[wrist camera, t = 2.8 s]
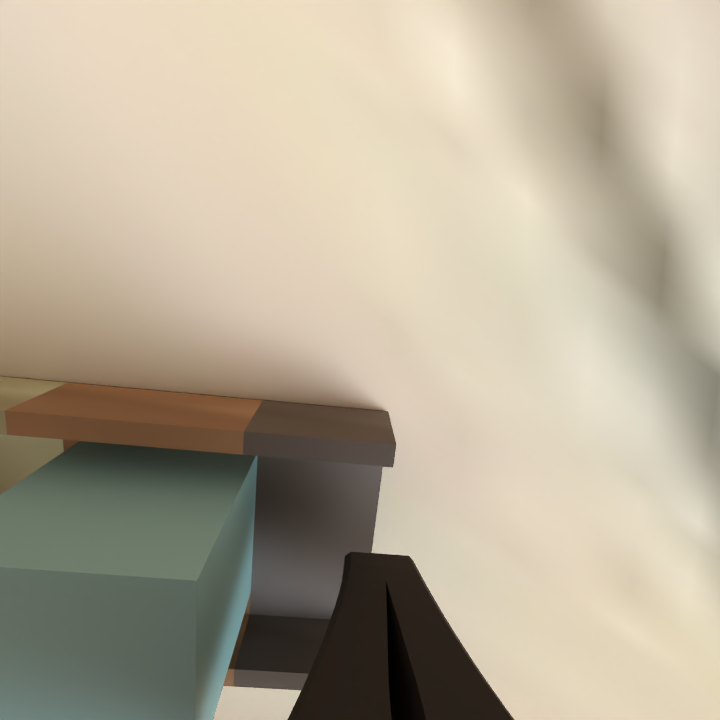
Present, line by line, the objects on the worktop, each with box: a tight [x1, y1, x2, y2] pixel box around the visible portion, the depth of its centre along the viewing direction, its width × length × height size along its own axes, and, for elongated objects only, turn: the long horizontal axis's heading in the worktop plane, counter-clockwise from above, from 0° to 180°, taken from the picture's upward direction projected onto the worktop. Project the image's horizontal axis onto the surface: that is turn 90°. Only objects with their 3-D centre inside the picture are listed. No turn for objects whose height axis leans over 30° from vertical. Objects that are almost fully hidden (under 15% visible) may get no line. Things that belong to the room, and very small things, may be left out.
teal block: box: [0, 441, 258, 720], centre depth 8 cm, size 4×4×4 cm
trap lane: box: [0, 376, 396, 690], centre depth 9 cm, size 6×16×2 cm, turn 84°
